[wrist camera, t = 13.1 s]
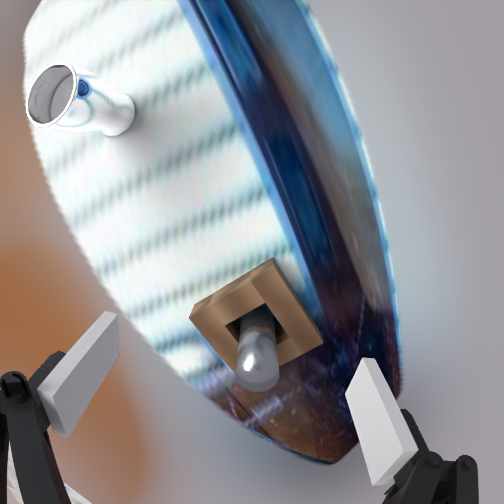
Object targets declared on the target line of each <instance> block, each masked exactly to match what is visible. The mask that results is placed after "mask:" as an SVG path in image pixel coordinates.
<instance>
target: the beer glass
mask: <svg viewBox="0 0 504 504" xmlns="http://www.w3.org/2000/svg"><path fill="white" fill-rule="evenodd" d="M26 112H27V116H28V118H29V120H30V121H31V123H32V124H33V125H35V126H37V127H42V128H46V129H50V130H53V131H58V132H64V133H82V132H89V131H99V132H100V133H102V134H104V135H107V136H117V135H120V134H122V133H123V132H125V131H126V130H127V129H128V128H129V127H130V125H131V124H132V122H133V119H134V116H135V106H134V103H133V101H132V99H131V98H130V97H129V96H127V95H125V94H122V93H115V92H113V91H112V90H111V89H110V88H109V87H108V85H107V84H106V83H105V82H104V81H103V80H101V79H100V78H99V77H98V76H97V75H95V74H93V73H92V72H90V71H88V70H86V69H83V68H81V67H78V66H75V65H72V64H69V63H67V62H63V61H59V62H55V63H52V64H50V65H48V66H47V67H45V68H44V69H43V70H42V71H41V72H40V73H39V74H38V75H37V76H36V78H35V79H34V81H33V83H32V84H31V87H30V89H29V92H28V95H27V100H26Z"/></svg>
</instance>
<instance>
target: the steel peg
mask: <svg viewBox="0 0 504 504" xmlns="http://www.w3.org/2000/svg"><path fill="white" fill-rule="evenodd" d="M279 376H280V374H279V365H278V355H277V346H276V336H275V327H274V318H273V313H272V311H271V310H270V309H269V307H267V306H266V305H263V304H262V305H260V306H258V307H257V308H255V309H253V310H251V311H250V312H248V313H246V314H244V315H243V316H242V318H241V327H240V337H239V347H238V357H237V367H236V380H237V382H238V383H239V385H240V386H241V387H243V388H244V389H246V390H249V391H253V392H262V391H266V390H269V389H271V388H272V387H274V386H275V385H276V384H277V382H278V380H279Z"/></svg>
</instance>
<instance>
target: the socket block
mask: <svg viewBox="0 0 504 504" xmlns="http://www.w3.org/2000/svg"><path fill="white" fill-rule="evenodd" d="M264 303H266V304H267V306H268V307H269V309H270V310H271V311H272V313H273V314H274V316H275V317H276V318H277V320H278V321H279V323H280V324H281V327H279V328H277V329H276V330H275V336H276V346H277V355H278V365H279V366H281V365H283V364H285V363H287V362H289V361H291V360H293V359H295V358H296V357H298V356H300V355H302V354H304V353H306V352H308V351H309V350H311V349H313V348H315V347H317V346H319V345H320V344H322V343H323V340H322V337H321V334H320V332H319V329H318V327H317V326H316V324H315V322H314V321H313V319H312V318H311V316H310V315H309V313H308V312H307V310H306V308H305V307H304V305H303V304H302V302H301V301H300V299H299V298H298V296H297V295H296V293H295V291H294V290H293V288H292V287H291V285H290V284H289V282H288V281H287V279H286V278H285V276H284V275H283V273H282V271H281V270H280V268H279V267H278V265H277V264H276V262H275V261H274V259H273V258H271V259H269V260H267V261H266V262H264V263H262V264H261V265H259V266H257V267H256V268H254V269H253V270H251V271H249V272H248V273H246V274H244V275H243V276H241V277H240V278H238V279H236V280H235V281H233V282H231V283H230V284H228V285H226V286H225V287H223V288H221V289H220V290H218V291H216V292H215V293H213V294H212V295H210V296H208V297H207V298H205V299H203V300H202V301H200V302H198V303H197V304H195V305H194V307H193V310H192V312H191V314H190V316H189V319H190V320H191V321H192V323H193V324H194V325H195V326H196V328H197V329H198V330H199V331H200V332H201V334H202V335H203V336H204V337H205V339H206V340H207V341H208V342H209V343H210V345H211V346H212V347H213V348H214V349H215V351H216V352H217V353H218V354H219V355H220V357H221V358H222V359H223V360H224V361H225V362H226V364H227V365H228V366H229V367H230V368H231V369H232V370H233V372H234V373H235V374H236V367H237V357H238V347H239V337H240V328H239V326H238V325H237V324H236V322H235V321H234V320H236V319H237V318H239V317H241V316H243V315H244V314H246V313H248V312H250V311H251V310H253V309H255V308H257V307H258V306H260V305H262V304H264Z"/></svg>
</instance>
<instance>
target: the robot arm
mask: <svg viewBox="0 0 504 504" xmlns="http://www.w3.org/2000/svg"><path fill="white" fill-rule="evenodd" d="M118 334H119V332H118V314H115V313H111V312H108V311H105V312H104V313H103V314H102V315H101V316H100V317H99V318H98V319H97V320H96V322H95V323H94V324H93V325H92V326H91V327H90V328H89V329H88V330H87V332H85V334H84V335H83V336H82V337H81V338H80V339H79V340H78V342H77V343H76V344H75V345H74V346H73V347H72V348H71V349H70V351H69V352H68V353H67V354H66V353H64V352H61V351H58V352H56V353H54V354H52V355H50V356H49V357H48V359H47V360H46V361H45V363H43V364H42V365H41V366H40V368H38V370H37V371H36V372H35V373H34V374H33V375H32V377H31V378H30V379H29V380H28V381H27V379H26V377H25V376H24V375H23V374H22V373H20V372H17V371H11V372H7V373H6V374H4V375H2V377H1V378H0V387H1V390H0V504H7V463H8V449H9V439H10V446H11V451H12V457H13V462H14V467H15V471H16V476H17V480H18V484H19V488H20V492H21V495H22V499H23V502H24V504H71V501H70V499H69V496H68V494H67V491H66V489H65V486H64V483H63V481H62V478H61V475H60V472H59V469H58V466H57V463H56V460H55V457H54V453H53V450H52V447H51V443H50V439H49V435H48V432H47V428H48V427H49V425H51V427H52V429H53V432H55V433H57V434H59V435H61V436H63V437H65V438H67V439H68V438H69V436H70V434H71V433H72V431H73V429H74V428H75V426H76V424H77V423H78V421H79V419H80V417H81V416H82V414H83V412H84V411H85V409H86V408H87V406H88V404H89V403H90V401H91V399H92V398H93V396H94V395H95V393H96V391H97V390H98V388H99V387H100V385H101V383H102V381H103V380H104V379H105V377H106V375H107V374H108V372H109V371H110V369H111V367H112V366H113V365H114V363H115V361H116V360H117V358H118V357H119V355H120V352H119V335H118ZM345 395H346V399H347V402H348V405H349V408H350V411H351V414H352V418H353V421H354V424H355V427H356V431H357V434H358V437H359V440H360V444H361V447H362V451H363V454H364V457H365V461H366V464H367V468H368V471H369V475H370V478H371V482H372V485H373V486H375V485H382V484H387V483H388V482H389V481H390V480H391V479H392V478H393V477H394V480H395V484H394V485H392V486H391V487H390V488H389V489H388V490H387V491H386V492H385V495H386V494H387V493H388V492H389V493H388V494H387V496H386V498H385V500H384V501H383V503H382V504H479V498H478V497H479V495H478V494H479V492H478V470H477V464H476V462H475V460H474V459H473V458H472V457H470V456H468V455H462V456H460V457H459V458H458V459H457V460H456V461H443V459H442V458H441V456H439V454H437V453H435V452H432V451H429V449H428V447H427V445H426V443H425V441H424V439H423V437H422V435H421V433H420V431H419V430H418V427H417V425H416V422H415V421H414V419H413V417H412V415H411V414H410V413H409V412H408V411H407V410H406V409H399V407H398V405H397V403H396V400H395V398H394V396H393V394H392V392H391V390H390V388H389V386H388V384H387V382H386V380H385V378H384V376H383V374H382V372H381V370H380V368H379V367H378V365H377V363H376V361H375V359H372V358H362V360H361V362H360V364H359V366H358V368H357V371H356V373H355V375H354V377H353V379H352V381H351V383H350V385H349V387H348V389H347V391H346V393H345Z"/></svg>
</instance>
